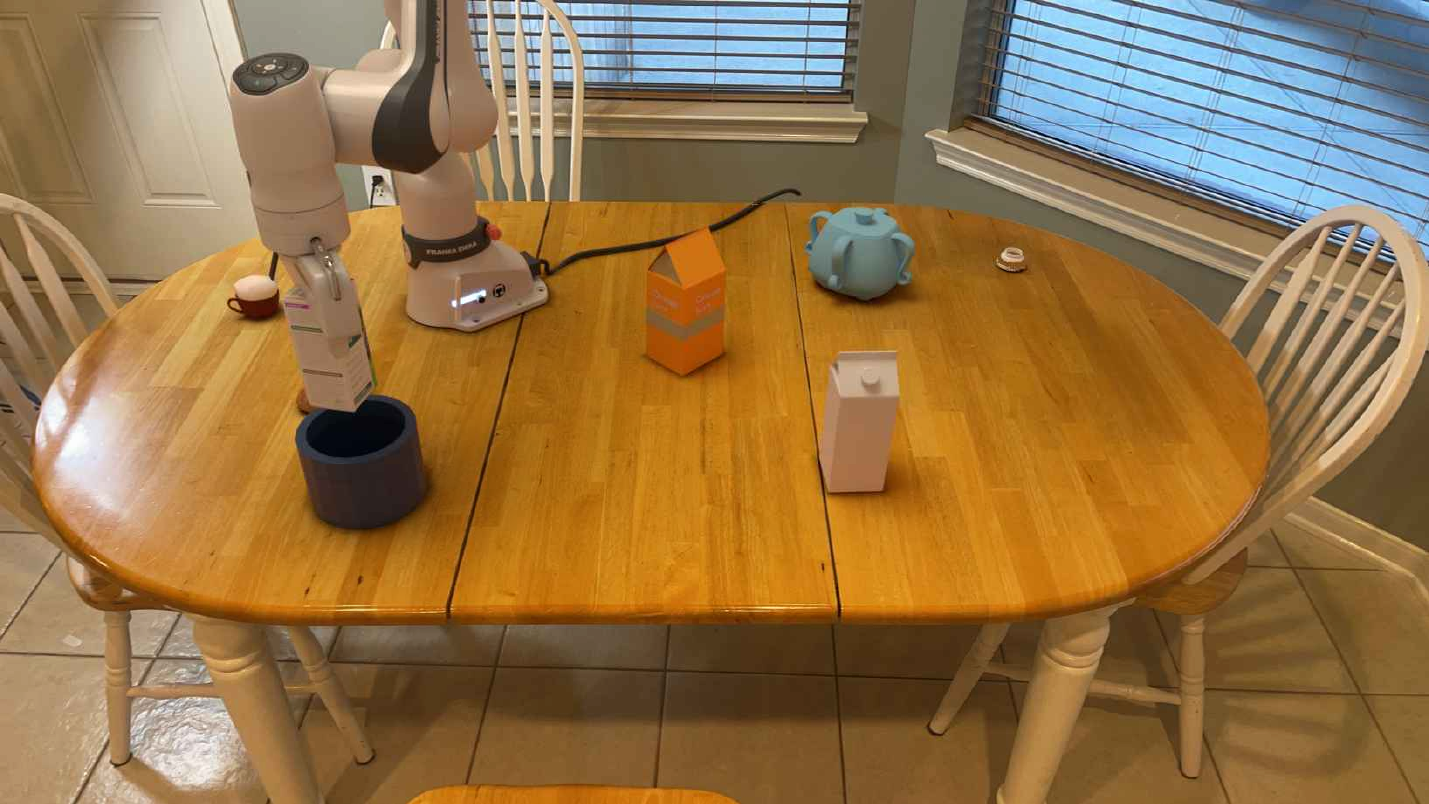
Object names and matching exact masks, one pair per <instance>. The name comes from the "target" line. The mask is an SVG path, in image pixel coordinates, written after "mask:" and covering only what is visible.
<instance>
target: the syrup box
mask: <svg viewBox="0 0 1429 804" xmlns="http://www.w3.org/2000/svg"><path fill="white" fill-rule="evenodd" d="M350 279H351V282H352V286H353V289H354V293H355V297H356V301H357V306H358V310H359V314H360V319H361V324H362V329H361V333H360V334H359V335H356V336H353V337H349V339H348V345H349V350H350V354H349V355H348V356H347V357H343V358H339V359H335V358H334V357H333V355H332V354H331V352H330V349H329V345H328V341H327V338H326V337H325V335H324V333H323V332H322V330H321V328H320V327H319V325H318V323H317V321H316V320H315V318H314V316H313V315H312V313H311V311H310V310H309V308H308V306H307V302H306V298H305V296H304V295H303V293H302V292H301V290H300V289H299V287H298V286H297V285H296V286H295V285H294V286H293V287H292V288H291V289H290V290H289V291H287V293H285V294H284V295H283V296H282V297H281V298H280V300H281V303H282V308H283V311H284V314H285V319H286V322H287V326H288V330H289V333H290V338H291V341H292V345H293V349H294V353H295V356H296V360H297V363H298V367H299V370H300V375H301V378H302V383H303V385H304V388H305V389H306V393H307V397H308V401H309V404H310V405H312V406H317V407H321V408H327V409H334V410H341V411H348V412H355V411H356V410H357V408H358V407H359V406H360V404H361V403H362V402H363V401H364V400H365V399H366V398H367V396H368V395H369V394H370V395H371V393H372V392H373V391H374V390H375V388H376V387H377V386H378V380H377V375H376V370H375V366H374V362H373V357H372V353H371V348H370V344H369V339H368V334H367V330H366V325H365V320H364V315H363V311H362V306H361V302H360V297H359V292H358V288H357V284H356V280H355V279H354V278H352V277H350ZM340 299H341V298H340ZM340 299H339V300H340ZM335 300H336V299H335ZM339 300H336V301H339Z"/></svg>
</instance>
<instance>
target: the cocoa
mask: <svg viewBox="0 0 1429 804" xmlns="http://www.w3.org/2000/svg"><path fill="white" fill-rule="evenodd" d="M279 259H280V258H279V256H278V254H277V252H274V251H272V257H271V262H270V267H269V270H268V272H269V273H268V275H260V274H251V275H248V276H246V277H243V278H241V279H239V280H237V281H235V282H234V284H233V289H234V292H235V294H234V296H235V297H230V298H228V299H227V301H226V305H227V307H228V308H229V309H230V310H231V311H233V312H235V313H238V314H242V315H246V316H249V317H251V318H256V319H261V318H267V317H269V316H271V315H272V314H274V313H275V312H276V311H277V310H278V308H279V304H280V289H279V288H278V287H279V282H278V281H277V279H276V271H277V267H278V263H279V262H278V261H279ZM231 302H237V305H238V307H239V308H240V309H238V308H235V307H233V306H232V305H231Z"/></svg>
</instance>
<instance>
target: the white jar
mask: <svg viewBox="0 0 1429 804" xmlns="http://www.w3.org/2000/svg"><path fill="white" fill-rule="evenodd" d="M1007 252H1015V253H1017V254H1020V255H1012V254H1009V253H1007ZM1000 255H1001V258H1002V259H1003V260H1004V261H1006V262H1013V263H1014V262H1022V261H1023V260H1025V256H1024V254H1023V251H1022V250H1021V249H1020V248H1017V247H1007V248H1005V249H1004V251H1003V252H1002V253H1001V254H1000ZM996 262H998V258H997V259H996ZM996 265H997V266H998V267H999V268H1000V269H1003V270H1005V271H1009V272H1020V271H1019V270H1018V269H1016V270H1018V271H1016V270H1015V269H1014V270H1013V269H1010V267H1006V266H1004V265H1002V264H1000V263H996ZM1006 268H1007V269H1006ZM1008 268H1009V269H1008ZM1021 268H1023V267H1021ZM1025 268H1026V267H1024V269H1025Z"/></svg>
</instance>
